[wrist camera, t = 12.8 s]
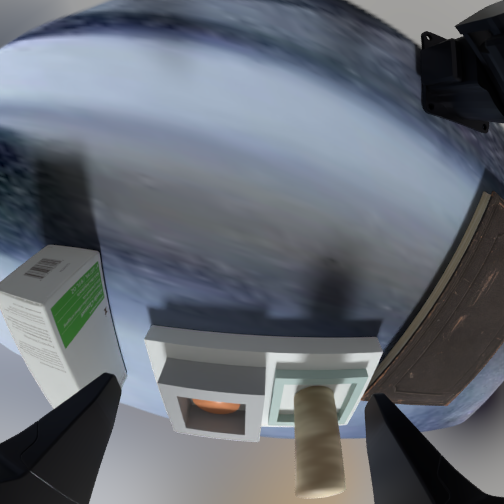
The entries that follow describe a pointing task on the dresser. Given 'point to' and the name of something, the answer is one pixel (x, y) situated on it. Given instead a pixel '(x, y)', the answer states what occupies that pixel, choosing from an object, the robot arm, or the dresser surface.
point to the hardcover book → (452, 320)
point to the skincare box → (62, 320)
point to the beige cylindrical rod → (317, 444)
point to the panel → (254, 377)
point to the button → (216, 406)
